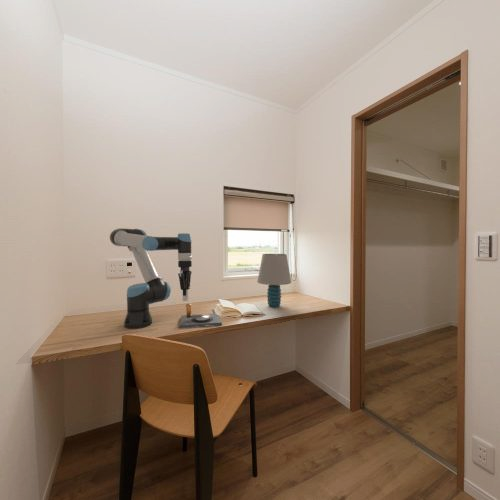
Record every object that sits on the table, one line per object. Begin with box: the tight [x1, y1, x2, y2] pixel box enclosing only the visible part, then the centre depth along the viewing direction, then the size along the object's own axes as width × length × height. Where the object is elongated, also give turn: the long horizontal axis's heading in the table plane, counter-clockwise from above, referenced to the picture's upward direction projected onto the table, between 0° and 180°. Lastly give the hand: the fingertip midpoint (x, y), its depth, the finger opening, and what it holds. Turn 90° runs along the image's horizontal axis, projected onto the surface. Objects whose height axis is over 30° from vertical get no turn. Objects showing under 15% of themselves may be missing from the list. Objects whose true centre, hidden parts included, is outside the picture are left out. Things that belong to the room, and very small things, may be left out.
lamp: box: [257, 253, 292, 308], centre depth 188 cm, size 25×25×39 cm
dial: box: [185, 303, 211, 321], centre depth 152 cm, size 14×10×10 cm
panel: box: [178, 312, 223, 329], centre depth 153 cm, size 24×19×2 cm
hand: (185, 300), depth 145 cm, fingers closed
